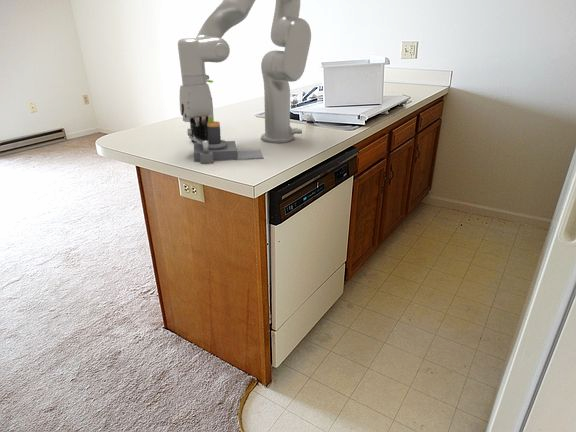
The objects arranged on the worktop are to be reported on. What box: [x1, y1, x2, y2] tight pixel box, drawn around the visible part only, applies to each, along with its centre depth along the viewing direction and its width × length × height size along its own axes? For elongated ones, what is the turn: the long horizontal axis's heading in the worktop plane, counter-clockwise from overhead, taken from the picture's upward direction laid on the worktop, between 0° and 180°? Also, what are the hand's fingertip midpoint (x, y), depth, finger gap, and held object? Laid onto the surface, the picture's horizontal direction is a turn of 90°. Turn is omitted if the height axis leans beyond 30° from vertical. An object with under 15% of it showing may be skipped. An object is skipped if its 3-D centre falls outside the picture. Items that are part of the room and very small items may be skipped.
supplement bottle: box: [189, 117, 209, 143], centre depth 154 cm, size 7×7×12 cm
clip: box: [186, 128, 209, 153], centre depth 135 cm, size 2×13×5 cm, turn 37°
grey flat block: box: [193, 140, 238, 165], centre depth 139 cm, size 14×14×3 cm
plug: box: [207, 120, 227, 149], centre depth 138 cm, size 8×8×11 cm
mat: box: [235, 149, 264, 161], centre depth 141 cm, size 9×9×1 cm
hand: (200, 136), depth 140 cm, fingers closed
